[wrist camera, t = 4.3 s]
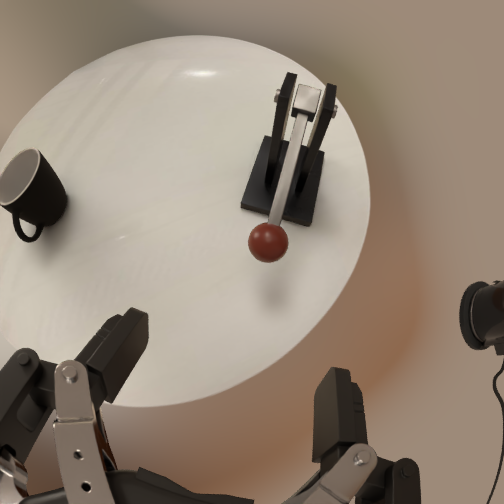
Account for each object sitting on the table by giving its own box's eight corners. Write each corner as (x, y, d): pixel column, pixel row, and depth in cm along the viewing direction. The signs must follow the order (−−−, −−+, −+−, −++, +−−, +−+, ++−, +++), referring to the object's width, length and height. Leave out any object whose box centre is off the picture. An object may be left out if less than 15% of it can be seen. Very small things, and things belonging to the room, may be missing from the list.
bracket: (309, 227, 34) (353, 147, 19) (240, 207, 35) (243, 117, 20) (322, 157, 38) (356, 74, 23) (264, 140, 38) (275, 52, 24)
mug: (37, 190, 34) (5, 158, 25) (77, 177, 35) (47, 138, 26) (26, 257, 31) (-16, 233, 21) (68, 249, 32) (26, 219, 22)
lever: (281, 264, 27) (282, 270, 23) (245, 254, 27) (241, 258, 23) (323, 104, 25) (329, 89, 21) (289, 94, 25) (292, 78, 21)
